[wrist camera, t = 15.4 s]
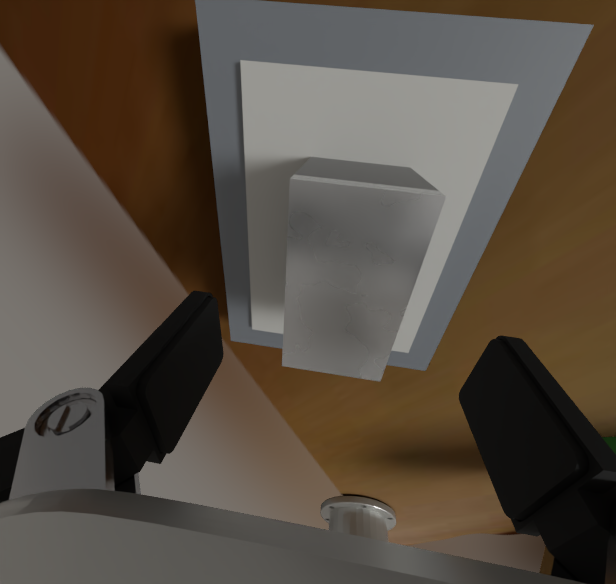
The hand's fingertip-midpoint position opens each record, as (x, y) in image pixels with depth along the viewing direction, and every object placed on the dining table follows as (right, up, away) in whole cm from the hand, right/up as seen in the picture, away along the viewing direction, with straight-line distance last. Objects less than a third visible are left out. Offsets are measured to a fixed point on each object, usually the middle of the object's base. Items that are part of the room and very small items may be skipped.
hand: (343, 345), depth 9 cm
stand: (+1, +7, +10) cm, 12 cm away
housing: (+1, +5, +7) cm, 8 cm away
